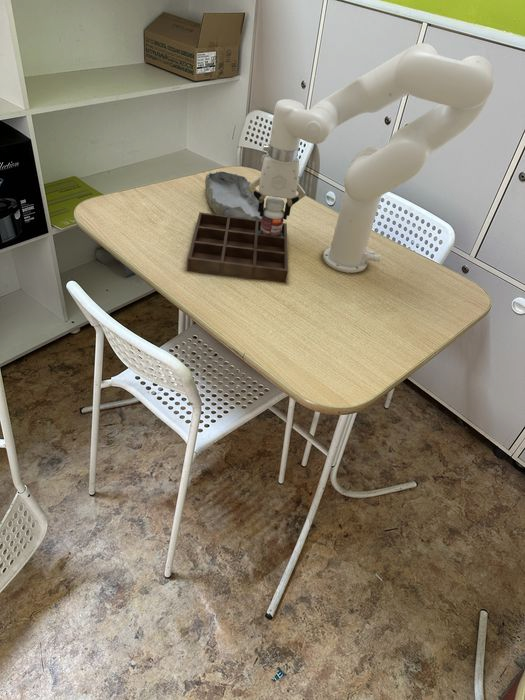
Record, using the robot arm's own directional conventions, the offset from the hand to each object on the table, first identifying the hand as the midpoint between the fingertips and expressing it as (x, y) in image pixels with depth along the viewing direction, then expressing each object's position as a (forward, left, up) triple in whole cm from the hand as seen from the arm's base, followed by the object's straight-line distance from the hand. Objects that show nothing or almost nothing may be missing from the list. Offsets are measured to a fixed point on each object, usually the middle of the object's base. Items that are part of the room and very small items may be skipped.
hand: (273, 215), depth 146 cm
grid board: (+8, +8, -8) cm, 14 cm away
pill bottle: (0, 0, -7) cm, 7 cm away
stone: (+13, -18, -8) cm, 24 cm away
